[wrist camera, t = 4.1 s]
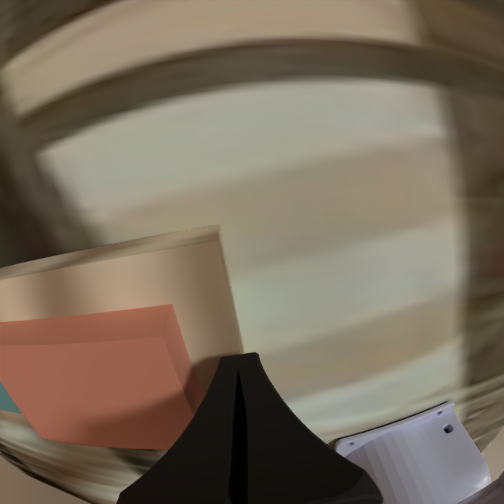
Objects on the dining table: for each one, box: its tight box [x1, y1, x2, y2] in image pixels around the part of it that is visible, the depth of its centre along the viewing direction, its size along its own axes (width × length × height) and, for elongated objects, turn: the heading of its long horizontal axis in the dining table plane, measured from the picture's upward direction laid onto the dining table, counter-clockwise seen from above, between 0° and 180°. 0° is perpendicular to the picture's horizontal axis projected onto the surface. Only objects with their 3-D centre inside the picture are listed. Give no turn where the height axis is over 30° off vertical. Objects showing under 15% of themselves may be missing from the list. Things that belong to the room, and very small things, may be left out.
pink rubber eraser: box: [0, 304, 204, 449], centre depth 11 cm, size 9×6×2 cm, turn 99°
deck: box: [0, 225, 245, 397], centre depth 13 cm, size 13×10×2 cm
